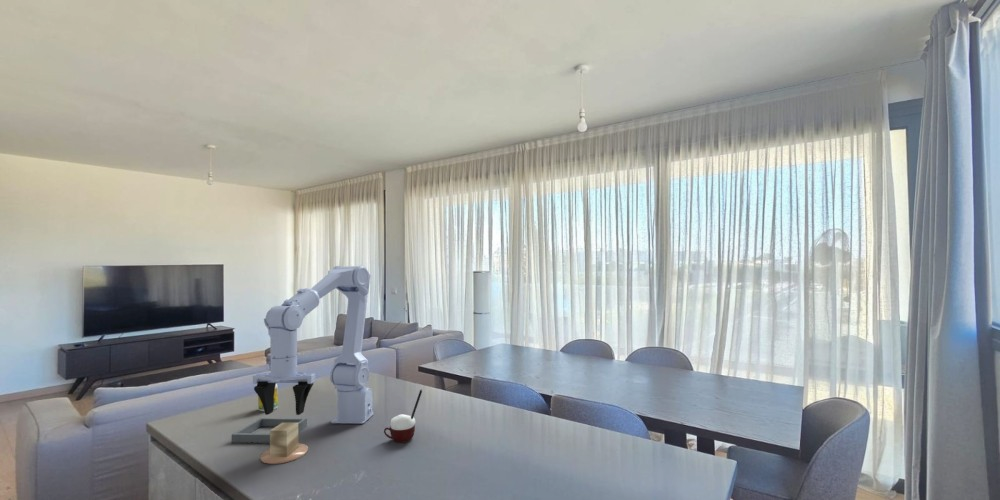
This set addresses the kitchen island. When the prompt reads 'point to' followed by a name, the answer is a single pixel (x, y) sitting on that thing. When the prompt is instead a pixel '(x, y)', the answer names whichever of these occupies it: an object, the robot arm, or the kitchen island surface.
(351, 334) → the robot arm
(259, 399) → the supplement bottle
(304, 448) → the saucer
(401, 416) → the cocoa
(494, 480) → the kitchen island surface
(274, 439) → the block
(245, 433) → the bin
